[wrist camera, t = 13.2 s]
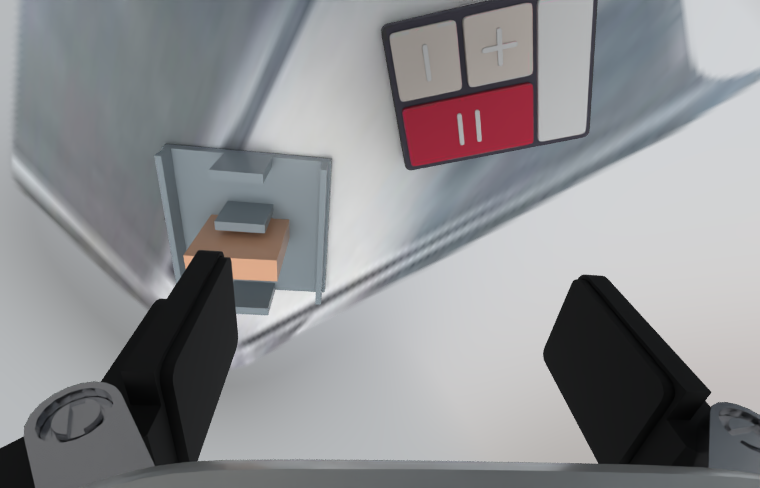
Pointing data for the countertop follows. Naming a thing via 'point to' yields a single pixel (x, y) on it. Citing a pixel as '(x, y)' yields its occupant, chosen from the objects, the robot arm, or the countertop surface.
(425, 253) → the countertop surface
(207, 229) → the tile
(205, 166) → the rack
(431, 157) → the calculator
